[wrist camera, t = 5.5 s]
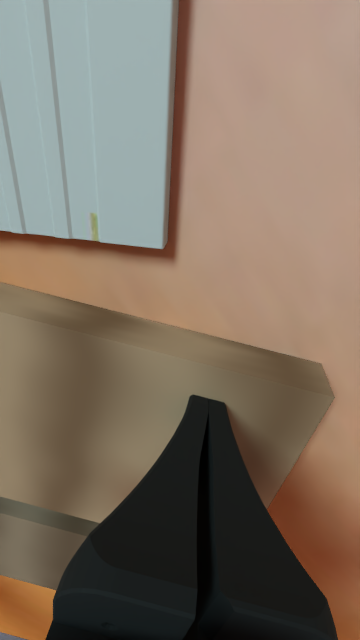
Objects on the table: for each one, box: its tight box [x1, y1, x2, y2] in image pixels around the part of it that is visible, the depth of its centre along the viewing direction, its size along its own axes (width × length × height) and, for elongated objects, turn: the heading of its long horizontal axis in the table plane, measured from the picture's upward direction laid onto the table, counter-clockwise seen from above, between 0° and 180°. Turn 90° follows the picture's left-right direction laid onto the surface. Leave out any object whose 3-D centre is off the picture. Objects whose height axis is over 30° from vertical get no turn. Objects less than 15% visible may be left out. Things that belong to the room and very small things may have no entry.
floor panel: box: [0, 497, 100, 590], centre depth 22 cm, size 20×10×2 cm, turn 78°
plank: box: [0, 282, 335, 523], centre depth 16 cm, size 20×12×2 cm, turn 78°
